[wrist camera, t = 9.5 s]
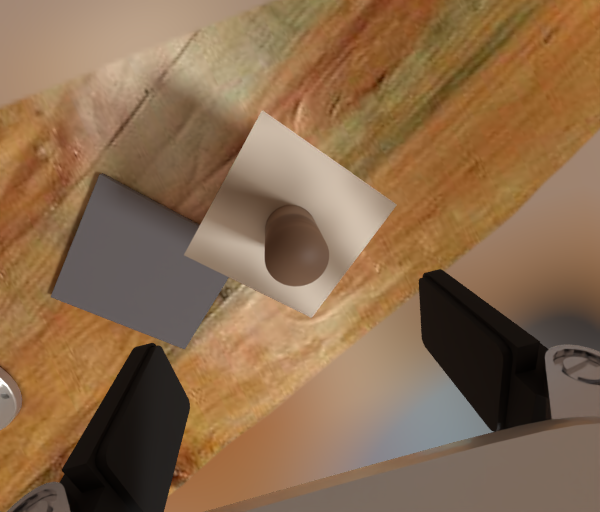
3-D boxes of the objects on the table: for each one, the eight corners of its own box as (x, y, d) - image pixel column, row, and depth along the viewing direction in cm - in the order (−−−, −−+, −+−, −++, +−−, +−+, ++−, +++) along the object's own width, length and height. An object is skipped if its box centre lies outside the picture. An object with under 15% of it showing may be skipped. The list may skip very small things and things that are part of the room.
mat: (185, 346, 33) (184, 349, 33) (54, 294, 29) (50, 296, 29) (245, 249, 30) (244, 251, 29) (102, 173, 25) (99, 174, 25)
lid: (309, 309, 25) (322, 362, 19) (187, 248, 22) (159, 290, 16) (390, 200, 22) (433, 225, 16) (262, 111, 19) (260, 103, 13)
